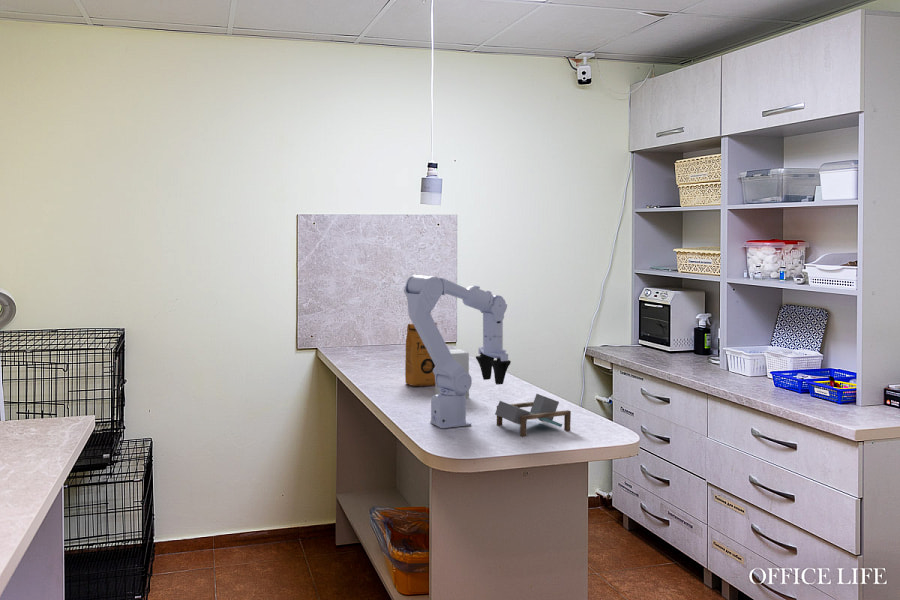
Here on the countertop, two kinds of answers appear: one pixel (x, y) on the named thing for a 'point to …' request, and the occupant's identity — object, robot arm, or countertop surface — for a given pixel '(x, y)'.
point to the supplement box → (462, 359)
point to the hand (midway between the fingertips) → (493, 381)
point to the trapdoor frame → (535, 416)
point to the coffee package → (417, 360)
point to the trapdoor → (516, 413)
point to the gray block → (544, 405)
